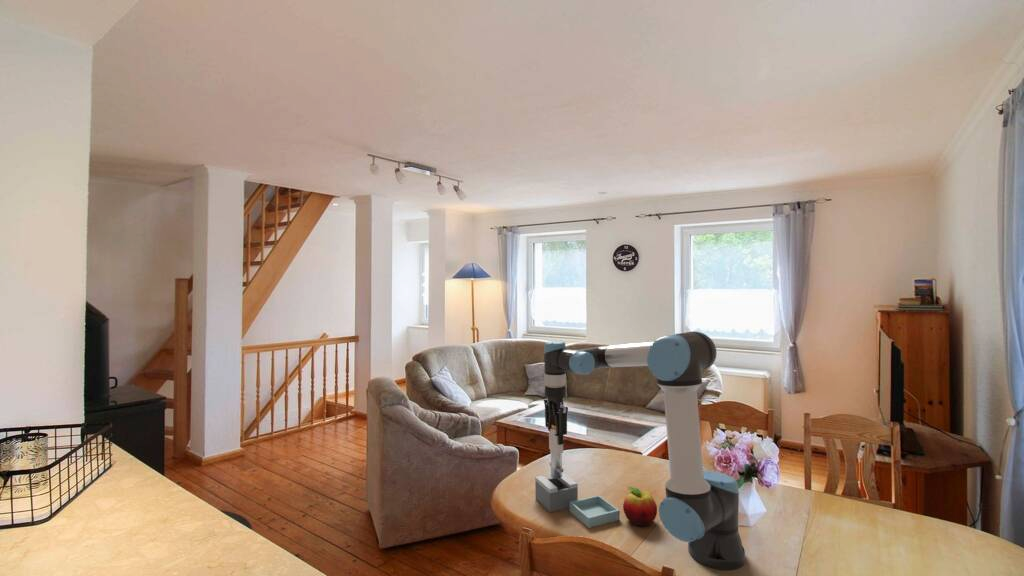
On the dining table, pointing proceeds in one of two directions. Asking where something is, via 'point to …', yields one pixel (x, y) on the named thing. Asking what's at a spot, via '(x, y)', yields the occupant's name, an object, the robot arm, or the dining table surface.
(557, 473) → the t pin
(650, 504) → the fruit
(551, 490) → the block
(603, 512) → the tray
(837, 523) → the dining table surface
